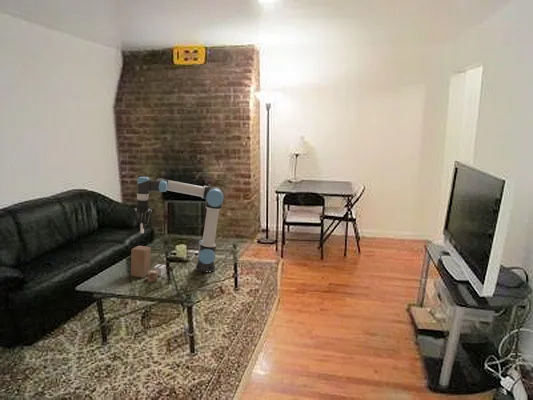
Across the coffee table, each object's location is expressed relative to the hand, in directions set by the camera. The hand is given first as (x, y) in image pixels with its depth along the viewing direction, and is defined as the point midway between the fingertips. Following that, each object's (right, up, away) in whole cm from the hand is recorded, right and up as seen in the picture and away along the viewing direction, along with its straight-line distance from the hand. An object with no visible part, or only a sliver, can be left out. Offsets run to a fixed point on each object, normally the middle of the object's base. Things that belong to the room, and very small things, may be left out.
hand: (142, 232), depth 258 cm
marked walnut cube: (+8, -32, -2) cm, 33 cm away
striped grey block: (+9, -31, +10) cm, 33 cm away
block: (-3, -30, +5) cm, 31 cm away
